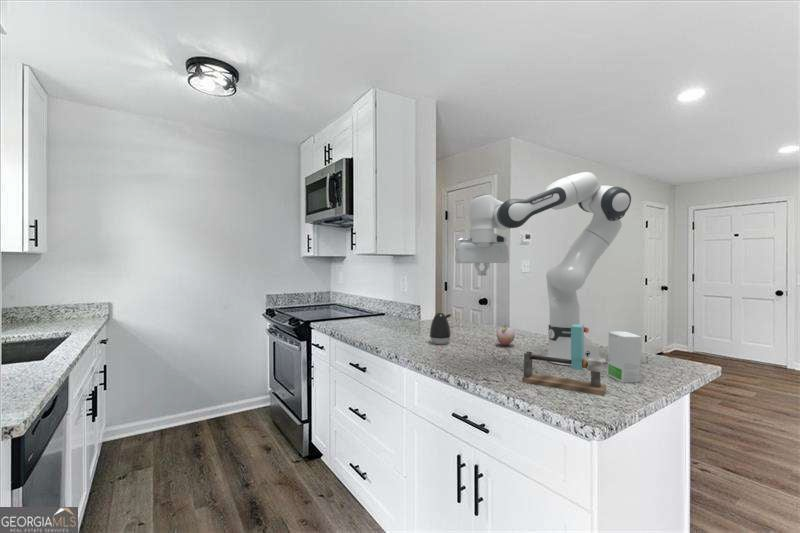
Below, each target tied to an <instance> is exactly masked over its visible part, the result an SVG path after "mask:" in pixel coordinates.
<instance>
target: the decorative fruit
mask: <svg viewBox="0 0 800 533" xmlns="http://www.w3.org/2000/svg"><path fill="white" fill-rule="evenodd" d="M515 336H516V335H515V331H514V330H513V329H512V328H511V327H509V326H506V325H504V326H502V327H499V328H498V329H497V331H496V338H497V341H498V342H499V344H501V346H504V347H506V346H508V345H510V344H511V343H512V342H514V340H515Z"/></svg>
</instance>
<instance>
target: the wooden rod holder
mask: <svg viewBox="0 0 800 533" xmlns="http://www.w3.org/2000/svg"><path fill="white" fill-rule="evenodd" d="M523 356H524V357H523V358H524V359H523V377H522V378H521V379H522V380H521V381H522V382H521V383H524V384H530V385H534V386H535V385H536V386H541V387H548V388H554V389H555V388H556V389H561V390H567V391H572V392H579V393H585V394H590V395H591V394H592V395H597V396H605V393H606V390H607V384H606V383H602V382H601V373H603V372H604V368H605V367H604V366H605V365H604V363H603V360H602V359H594V358H589V359H588V362H587V360H585V359H583V361H582V366H583V369H587V371H588V372H590V381H586V380H581V379H574V378H567V377H566V378H565V377H562V376H561V377H559V376H555V375H554V376H553V375H546V374H539V373H533V360H535V361H542V362H549V361H550V362H549V363H552V362H558V363H565V364H571V360H569V359H561V358H553V357H546V356H544V355H537V354H536V355H535V354H533V352H532V351H526V352H524V354H523Z"/></svg>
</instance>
